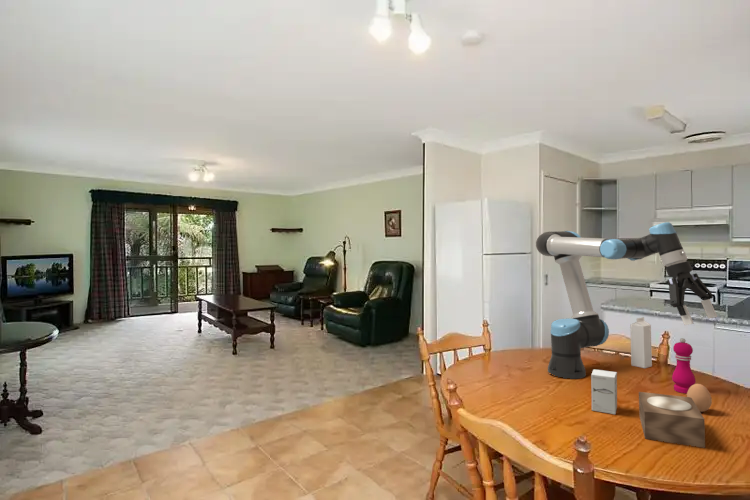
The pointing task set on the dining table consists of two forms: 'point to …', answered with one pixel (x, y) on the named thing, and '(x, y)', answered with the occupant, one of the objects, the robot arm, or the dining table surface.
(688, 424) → the walnut riser
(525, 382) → the dining table surface
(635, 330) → the milk
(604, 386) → the supplement box
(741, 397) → the dining table surface
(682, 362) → the pepper mill
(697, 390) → the egg
